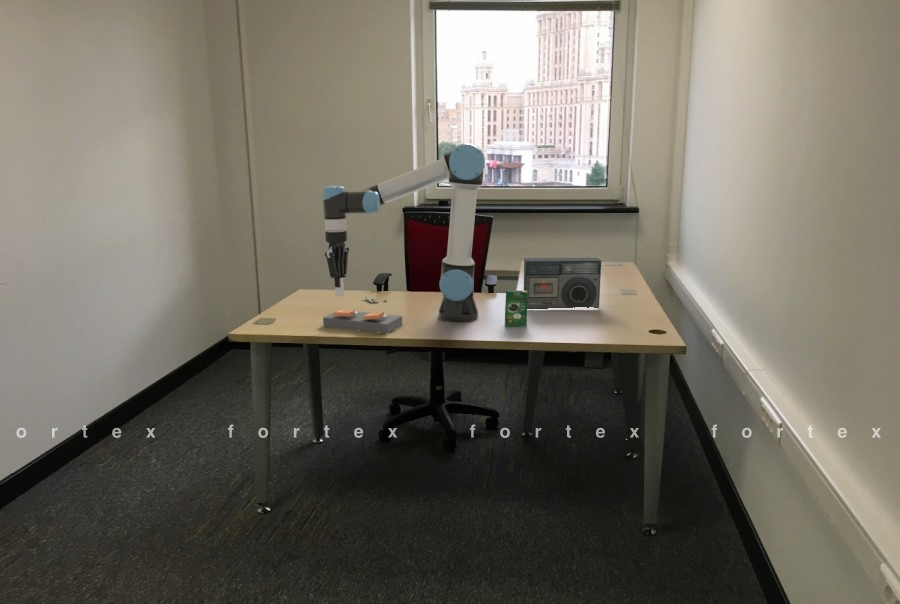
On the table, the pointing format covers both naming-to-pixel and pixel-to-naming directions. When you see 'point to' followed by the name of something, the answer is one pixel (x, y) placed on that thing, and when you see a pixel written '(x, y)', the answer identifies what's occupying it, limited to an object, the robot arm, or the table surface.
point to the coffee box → (516, 308)
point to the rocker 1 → (344, 312)
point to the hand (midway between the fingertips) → (339, 295)
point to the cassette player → (562, 282)
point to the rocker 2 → (373, 315)
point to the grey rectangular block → (363, 322)
